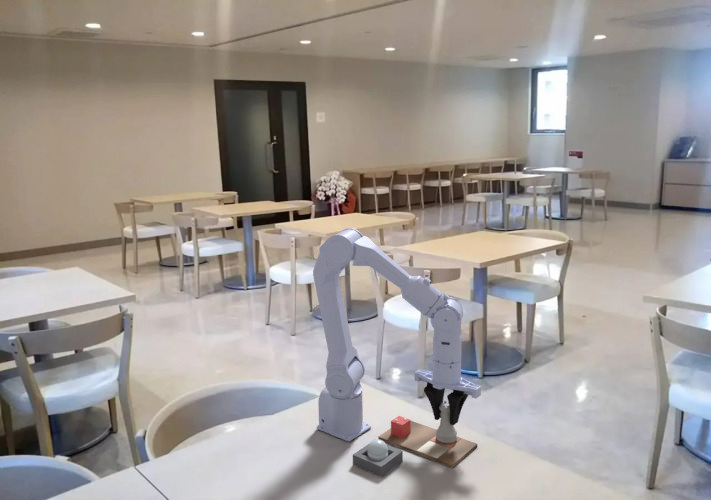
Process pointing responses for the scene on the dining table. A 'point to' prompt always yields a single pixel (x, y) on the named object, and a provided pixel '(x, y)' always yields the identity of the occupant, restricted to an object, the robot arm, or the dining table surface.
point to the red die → (400, 426)
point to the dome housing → (375, 466)
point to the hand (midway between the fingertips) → (446, 420)
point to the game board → (430, 445)
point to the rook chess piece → (445, 426)
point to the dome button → (378, 450)
